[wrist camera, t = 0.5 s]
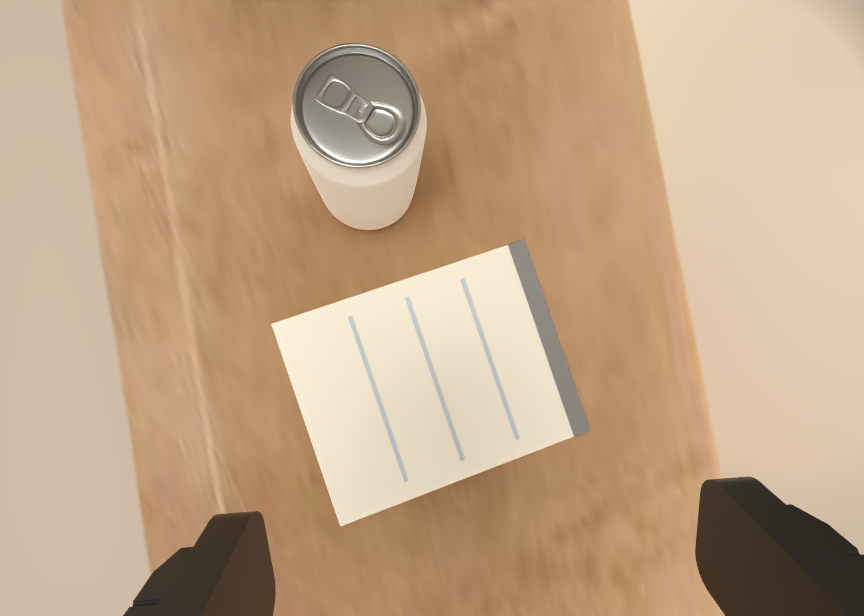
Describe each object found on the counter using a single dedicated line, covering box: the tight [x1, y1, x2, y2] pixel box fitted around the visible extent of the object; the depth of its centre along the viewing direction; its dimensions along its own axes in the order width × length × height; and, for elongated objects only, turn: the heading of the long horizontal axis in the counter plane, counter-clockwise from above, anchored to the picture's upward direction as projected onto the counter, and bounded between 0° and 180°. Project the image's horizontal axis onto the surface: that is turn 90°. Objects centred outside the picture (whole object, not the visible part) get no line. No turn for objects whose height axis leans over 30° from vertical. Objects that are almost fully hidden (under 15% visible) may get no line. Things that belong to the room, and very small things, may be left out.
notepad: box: [271, 240, 590, 526], centre depth 32 cm, size 14×18×1 cm
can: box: [291, 43, 427, 230], centre depth 27 cm, size 6×6×12 cm
